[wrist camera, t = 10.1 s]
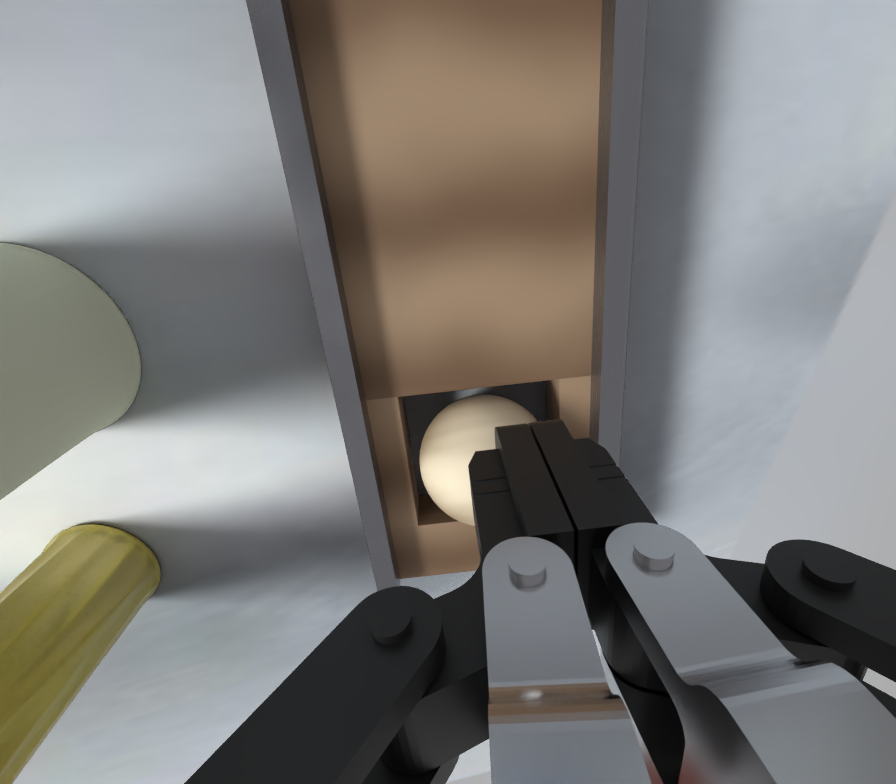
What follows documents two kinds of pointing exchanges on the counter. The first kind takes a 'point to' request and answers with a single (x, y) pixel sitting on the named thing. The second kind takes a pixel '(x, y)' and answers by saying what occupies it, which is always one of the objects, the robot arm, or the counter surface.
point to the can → (57, 362)
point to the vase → (64, 629)
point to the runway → (458, 220)
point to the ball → (463, 448)
